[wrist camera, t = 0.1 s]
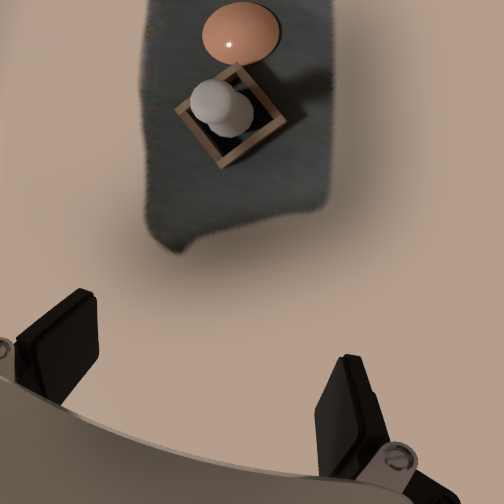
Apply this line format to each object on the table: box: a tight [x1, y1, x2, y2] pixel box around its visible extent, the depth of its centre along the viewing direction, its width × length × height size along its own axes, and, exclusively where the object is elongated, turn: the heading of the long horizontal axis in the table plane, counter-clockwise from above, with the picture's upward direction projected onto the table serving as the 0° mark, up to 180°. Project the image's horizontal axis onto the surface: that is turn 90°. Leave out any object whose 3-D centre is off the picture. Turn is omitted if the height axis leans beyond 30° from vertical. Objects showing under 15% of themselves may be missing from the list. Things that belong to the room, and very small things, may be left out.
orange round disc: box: [203, 2, 279, 66], centre depth 33 cm, size 10×10×1 cm
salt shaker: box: [190, 79, 254, 138], centre depth 31 cm, size 6×6×13 cm
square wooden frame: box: [175, 62, 287, 169], centre depth 36 cm, size 10×10×3 cm
